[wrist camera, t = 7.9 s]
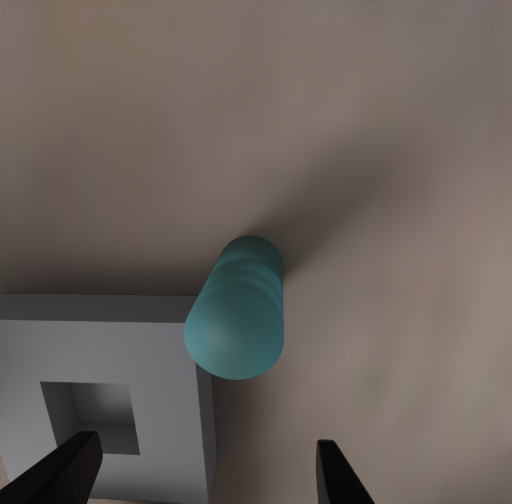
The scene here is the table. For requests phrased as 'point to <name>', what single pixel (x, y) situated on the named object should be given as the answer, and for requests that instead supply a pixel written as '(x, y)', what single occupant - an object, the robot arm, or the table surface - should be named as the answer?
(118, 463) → the socket block
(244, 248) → the teal peg
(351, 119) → the table surface
